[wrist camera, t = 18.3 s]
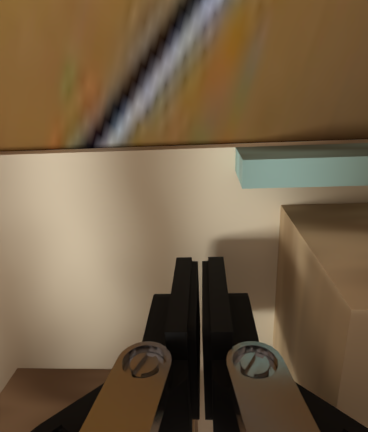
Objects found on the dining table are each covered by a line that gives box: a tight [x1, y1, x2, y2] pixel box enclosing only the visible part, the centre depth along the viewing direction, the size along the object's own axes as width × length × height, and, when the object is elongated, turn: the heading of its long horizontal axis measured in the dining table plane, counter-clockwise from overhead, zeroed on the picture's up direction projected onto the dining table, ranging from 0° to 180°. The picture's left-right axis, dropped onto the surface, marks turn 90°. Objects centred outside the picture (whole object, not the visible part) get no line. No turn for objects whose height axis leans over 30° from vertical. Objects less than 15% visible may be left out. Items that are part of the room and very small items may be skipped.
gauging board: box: [0, 139, 368, 432], centre depth 14 cm, size 24×18×3 cm
